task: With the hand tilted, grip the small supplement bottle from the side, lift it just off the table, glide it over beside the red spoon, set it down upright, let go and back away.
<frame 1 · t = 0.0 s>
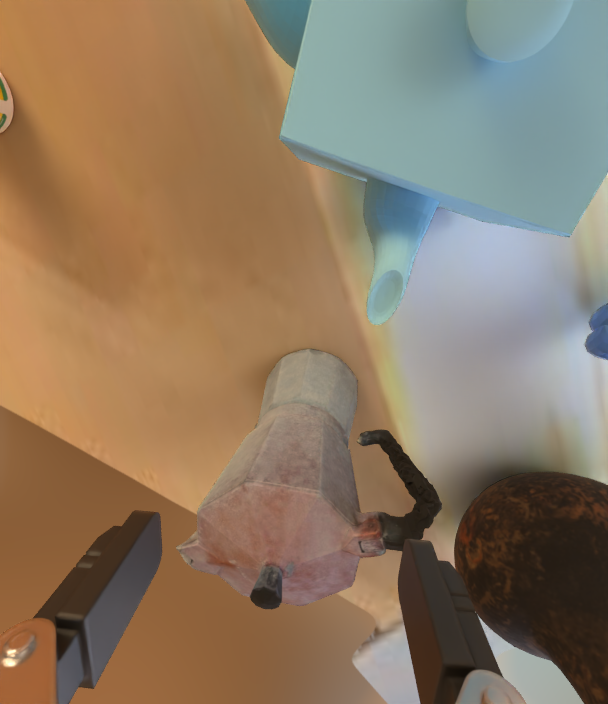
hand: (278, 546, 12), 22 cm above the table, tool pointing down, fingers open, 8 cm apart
moka pot: (314, 385, 35), on the table
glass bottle: (523, 506, 39), on the table
teakettle: (406, 97, 25), on the table
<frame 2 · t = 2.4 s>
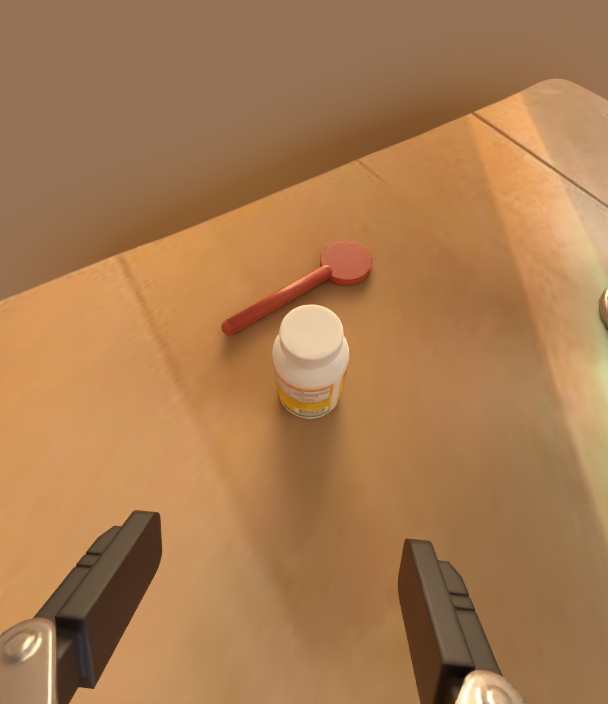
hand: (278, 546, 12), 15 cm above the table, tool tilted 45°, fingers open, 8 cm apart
supplement bottle: (309, 390, 31), on the table
red spoon: (345, 265, 37), on the table
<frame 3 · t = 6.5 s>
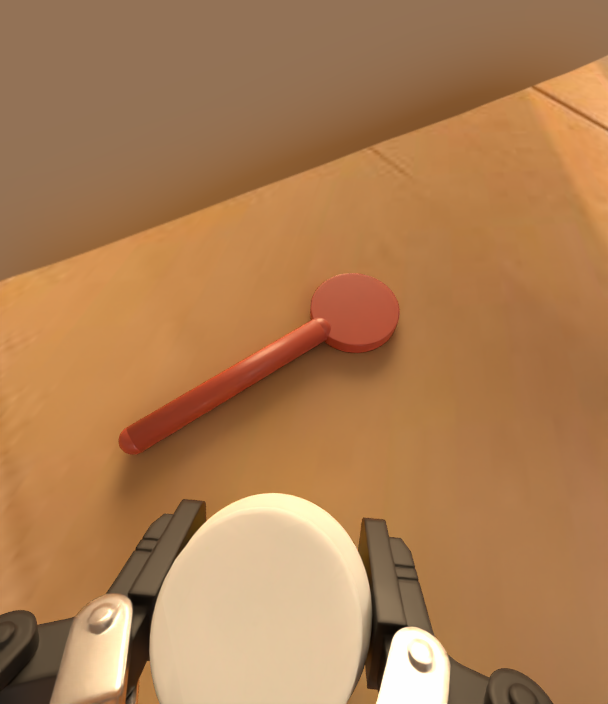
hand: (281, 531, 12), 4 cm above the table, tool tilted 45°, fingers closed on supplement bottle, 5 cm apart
supplement bottle: (282, 583, 15), on the table, touching gripper
red spoon: (353, 315, 22), on the table
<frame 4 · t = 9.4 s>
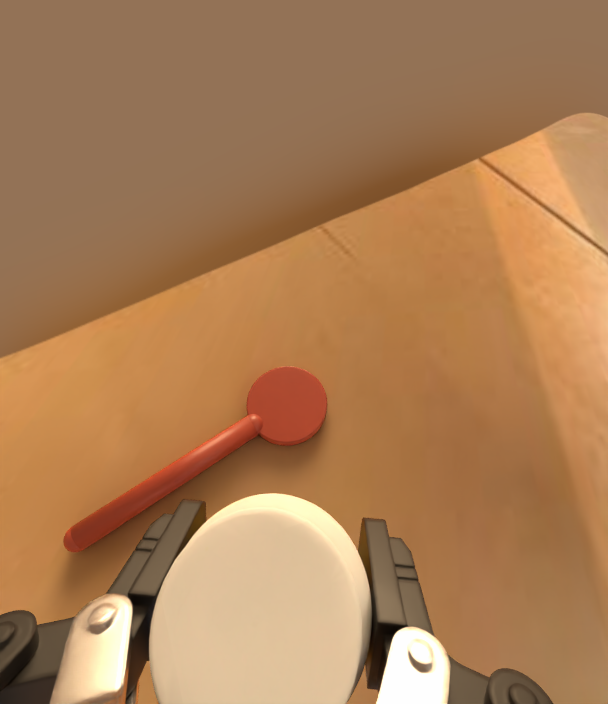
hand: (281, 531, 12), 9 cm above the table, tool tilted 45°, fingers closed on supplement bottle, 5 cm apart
supplement bottle: (282, 583, 15), point 5 cm above the table, touching gripper
red spoon: (287, 406, 24), on the table
when the fingers open (4 cm above the table, at t = 12.5 s): supplement bottle stays where it is, on the table.
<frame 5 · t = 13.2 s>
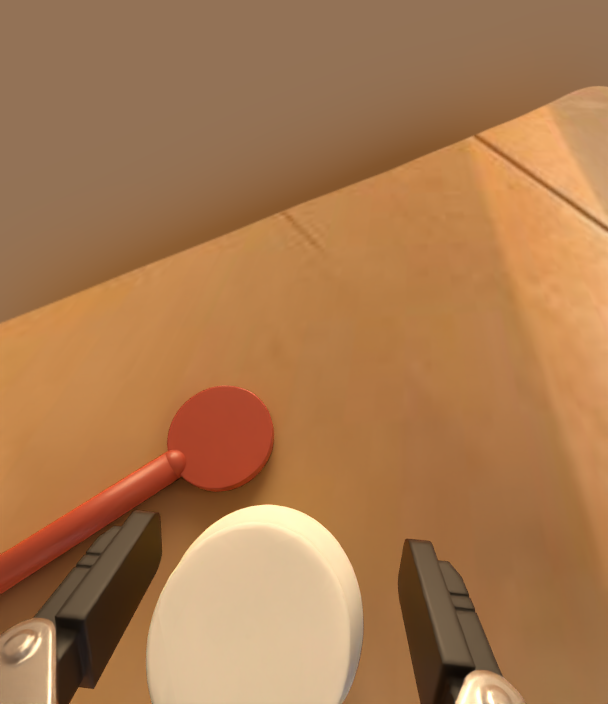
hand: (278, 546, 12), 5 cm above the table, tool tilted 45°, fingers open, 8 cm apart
supplement bottle: (278, 589, 15), on the table
red spoon: (223, 438, 18), on the table
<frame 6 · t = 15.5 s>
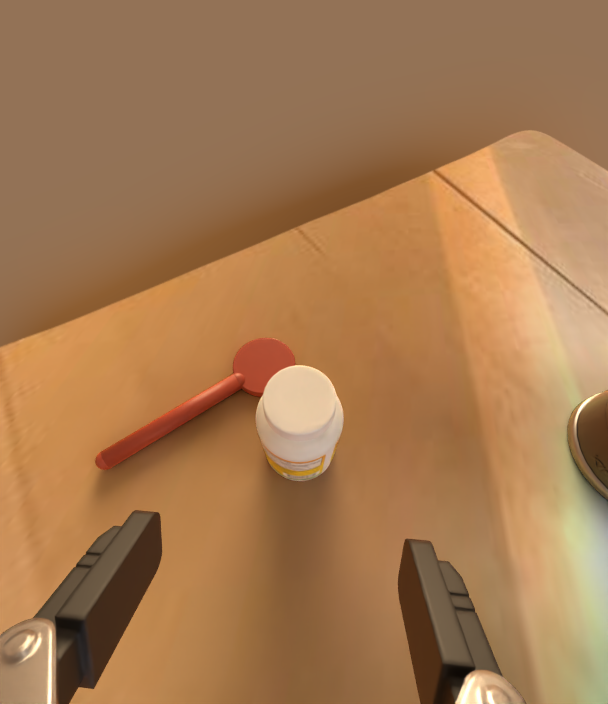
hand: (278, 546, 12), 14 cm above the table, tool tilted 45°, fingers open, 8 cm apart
supplement bottle: (300, 445, 28), on the table
red spoon: (265, 368, 31), on the table
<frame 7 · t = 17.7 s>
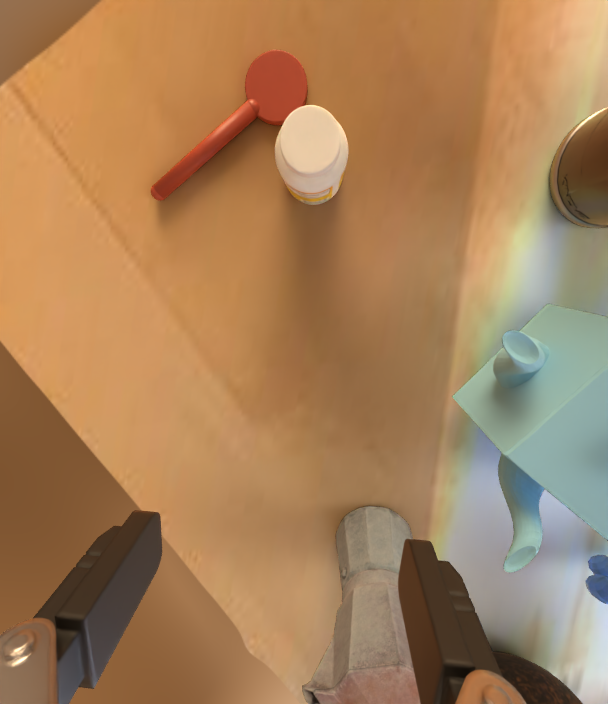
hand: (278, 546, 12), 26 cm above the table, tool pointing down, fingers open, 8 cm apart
moka pot: (376, 533, 42), on the table
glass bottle: (489, 676, 47), on the table
supplement bottle: (314, 173, 32), on the table
teakettle: (529, 382, 36), on the table
red spoon: (277, 91, 31), on the table
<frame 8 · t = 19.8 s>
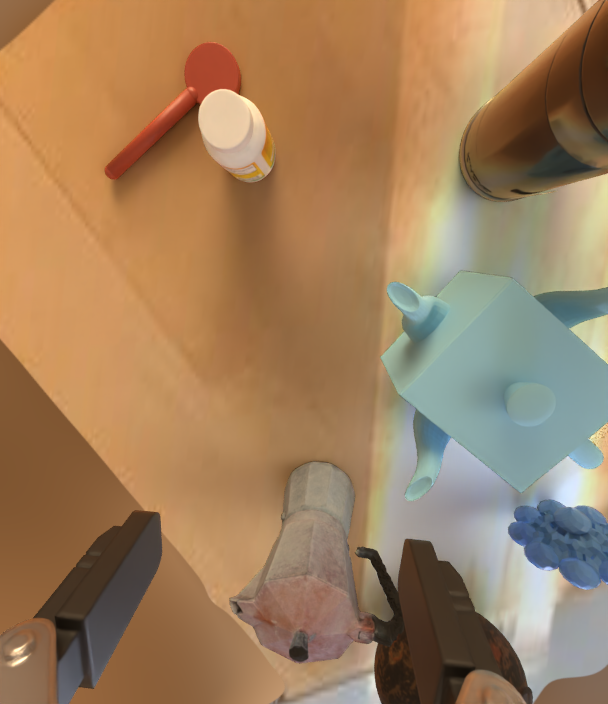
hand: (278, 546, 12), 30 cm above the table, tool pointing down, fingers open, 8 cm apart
moka pot: (322, 488, 46), on the table
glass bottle: (432, 623, 51), on the table
grapes: (541, 496, 44), on the table
supplement bottle: (250, 154, 36), on the table
teakettle: (453, 345, 40), on the table
red spoon: (214, 79, 34), on the table
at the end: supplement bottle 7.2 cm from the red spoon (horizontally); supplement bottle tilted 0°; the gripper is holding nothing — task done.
